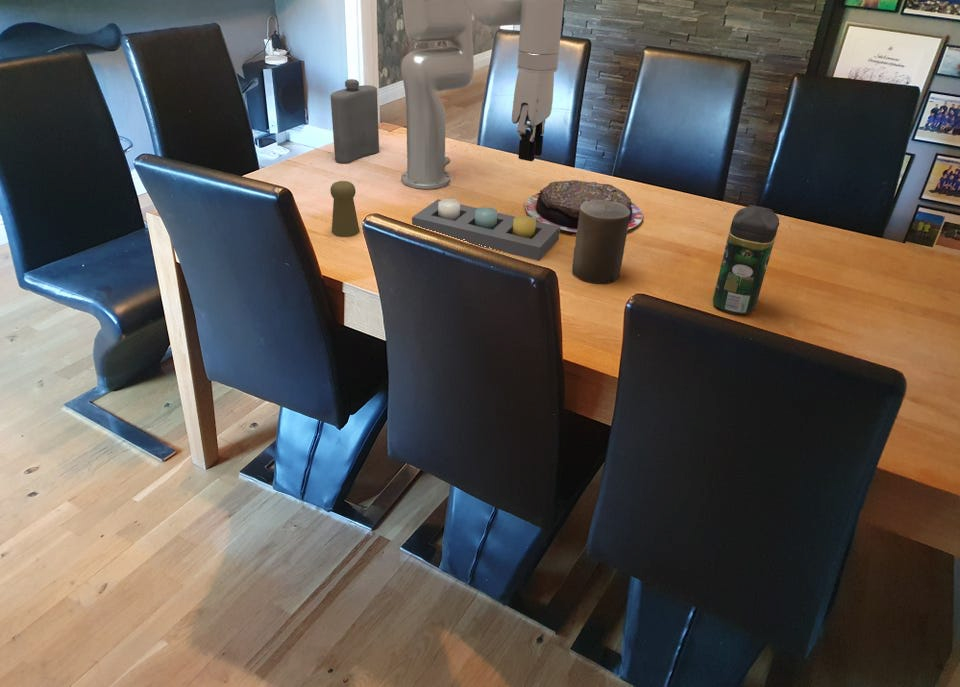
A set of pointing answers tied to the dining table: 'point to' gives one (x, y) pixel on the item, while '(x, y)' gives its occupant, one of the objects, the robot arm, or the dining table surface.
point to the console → (489, 232)
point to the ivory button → (449, 209)
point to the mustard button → (524, 226)
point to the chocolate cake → (575, 203)
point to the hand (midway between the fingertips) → (530, 156)
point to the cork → (344, 210)
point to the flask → (355, 122)
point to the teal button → (486, 217)
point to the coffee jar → (745, 259)
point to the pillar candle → (600, 241)
